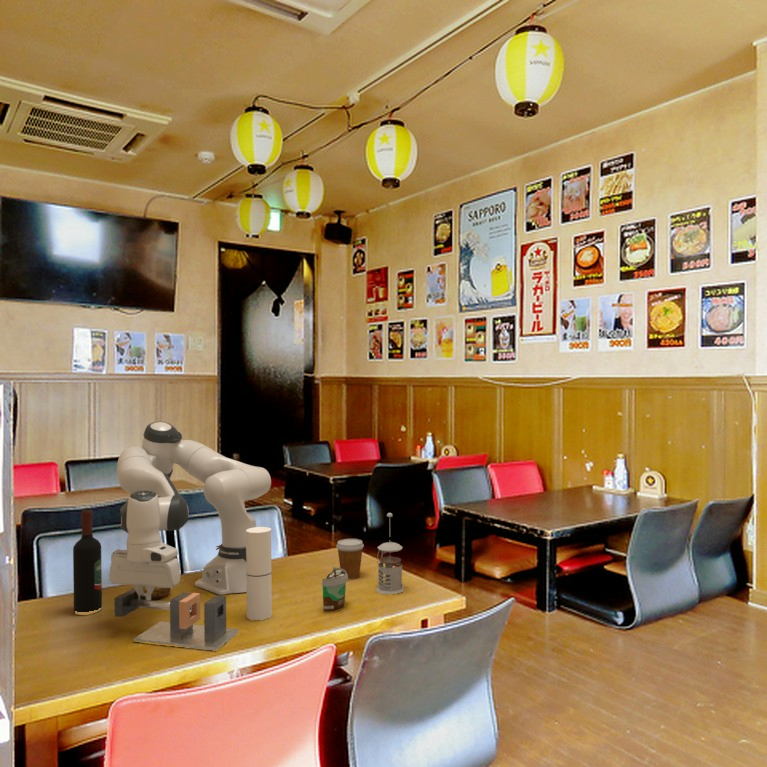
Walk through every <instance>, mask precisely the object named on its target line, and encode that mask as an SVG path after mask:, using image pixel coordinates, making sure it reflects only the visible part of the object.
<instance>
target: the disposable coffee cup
mask: <svg viewBox="0 0 767 767" xmlns="http://www.w3.org/2000/svg"><path fill="white" fill-rule="evenodd" d="M335 546H336V549H337V554H338V562H339V568H341V569H344V570H345V571H346V573H347V575H348V580H354V579H353V578H355V579H358V578H360V575H361V566H362V565H361V564H362V558H363V557H362V556H363V555H362V554H363V548H364V547H365V545H364V543H363V540H361V539H358V538H344V539H339V540H338V541H337V544H336V545H335Z"/></svg>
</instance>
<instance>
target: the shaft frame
mask: <svg viewBox="0 0 767 767" xmlns="http://www.w3.org/2000/svg"><path fill="white" fill-rule="evenodd" d="M191 594H192V593H191V592H181V593H180V594H178V595H176V596H174V597H173V598H171V599H170V600H169V602H170V610H169V622H168V621H159V622H157V623H155V624H154V625H153V626H151V627H149V628H147V630H145V631H143V632H141V633H140V634H139V635H137V636H135V637H134V638H133V639H132V641H141V642H150V643H159V644H168V645H177V646H182V647H189V648H197V649H205V650H215V651H216V650H218V649H219V648H220V647H221V646H222V647H224V646H225V645H226V644H227V643H228V642H229V641H231V640H232V639H233V638H234V637H236V636H237V635H238V634H239V630H240V629H239V628H230V627H229V628H228V627H227V596H226V595H219V594H216V595H214V596H212V597H211V598H210V599H208V600H206V601H205V602H204V603H203V604H204V605H203V607H204V608H203V610H204V611H203V612H204V614H203V616H204V618H203V620H204V622H203V623H204V625H202V624H201V625H200V624H193V625H191V626H190V627H189V628H187V629H180V628H179V601H181V600H183V599H184V598H186V597H188V596H189V595H191ZM237 633H238V634H237ZM236 634H237V635H236ZM233 636H234V637H233ZM232 637H233V638H232ZM231 638H232V639H231ZM230 639H231V640H230ZM226 642H227V643H226ZM225 643H226V644H225ZM224 644H225V645H224ZM223 645H224V646H223ZM222 647H221V648H222ZM221 648H220V649H221ZM220 649H219V650H220ZM205 650H204V651H205ZM219 650H218V651H219ZM215 651H214V652H215ZM216 652H217V651H216Z"/></svg>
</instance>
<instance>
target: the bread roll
mask: <svg viewBox="0 0 767 767" xmlns="http://www.w3.org/2000/svg"><path fill="white" fill-rule="evenodd" d="M142 589H143V591H144V593H147V591H148V590H146V586H144V587H142ZM171 590H172V588H162V587H155V588H154V590H153V592H152V594H151V600H159V599H158V598H160V599H163V598H165V596H166V597H168V596H169V595H170V593H171ZM162 597H163V598H162Z"/></svg>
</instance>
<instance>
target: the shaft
mask: <svg viewBox="0 0 767 767" xmlns="http://www.w3.org/2000/svg"><path fill="white" fill-rule="evenodd" d="M140 608H142V609H143V608H144V609H155V610H166V611H170V601H161V600H160V601H159V600H153V599H151V600H141V599H139V597H138V594H137V593H136V591H135V587H133V588H131V589H129V590H126V591H125V592H123V593H121V594H119V595H117V596H116V597H114V617H116V618H124V617H126V616H127V615H129V614H131V613H132V612H134V611H136V610H138V609H140ZM193 608H194V606H193V605H192V606H190V612H192V611H193Z"/></svg>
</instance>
